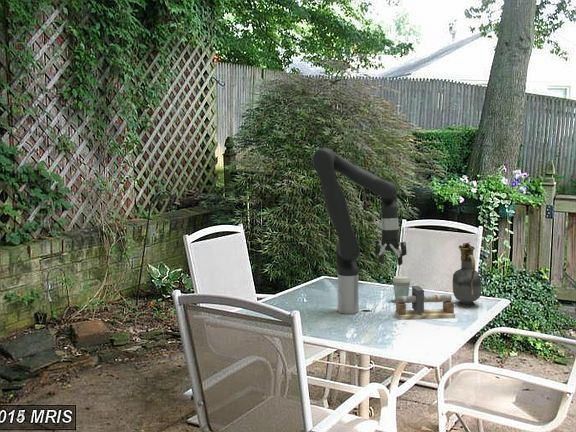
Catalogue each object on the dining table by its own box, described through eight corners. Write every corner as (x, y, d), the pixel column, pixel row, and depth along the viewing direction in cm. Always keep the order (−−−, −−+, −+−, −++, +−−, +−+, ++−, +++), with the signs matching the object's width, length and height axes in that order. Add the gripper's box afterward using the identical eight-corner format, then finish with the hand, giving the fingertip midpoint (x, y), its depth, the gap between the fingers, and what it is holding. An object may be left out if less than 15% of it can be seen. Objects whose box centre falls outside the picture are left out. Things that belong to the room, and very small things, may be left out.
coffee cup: (388, 301, 296) (388, 277, 295) (400, 298, 302) (400, 274, 301) (403, 304, 290) (403, 279, 289) (414, 301, 296) (414, 277, 294)
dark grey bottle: (473, 300, 295) (473, 238, 292) (485, 310, 276) (486, 244, 273) (450, 300, 295) (450, 239, 293) (461, 310, 277) (461, 244, 274)
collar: (417, 312, 264) (417, 290, 263) (411, 307, 273) (411, 286, 272) (423, 312, 264) (424, 290, 264) (418, 307, 273) (418, 285, 272)
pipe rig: (400, 319, 264) (400, 298, 263) (395, 313, 274) (394, 293, 273) (455, 317, 265) (455, 297, 264) (448, 312, 275) (448, 292, 274)
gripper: (371, 228, 270) (372, 264, 272) (400, 229, 262) (401, 267, 264) (379, 226, 276) (381, 261, 278) (408, 227, 268) (409, 264, 269)
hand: (391, 264), depth 271 cm, fingers open, 8 cm apart
